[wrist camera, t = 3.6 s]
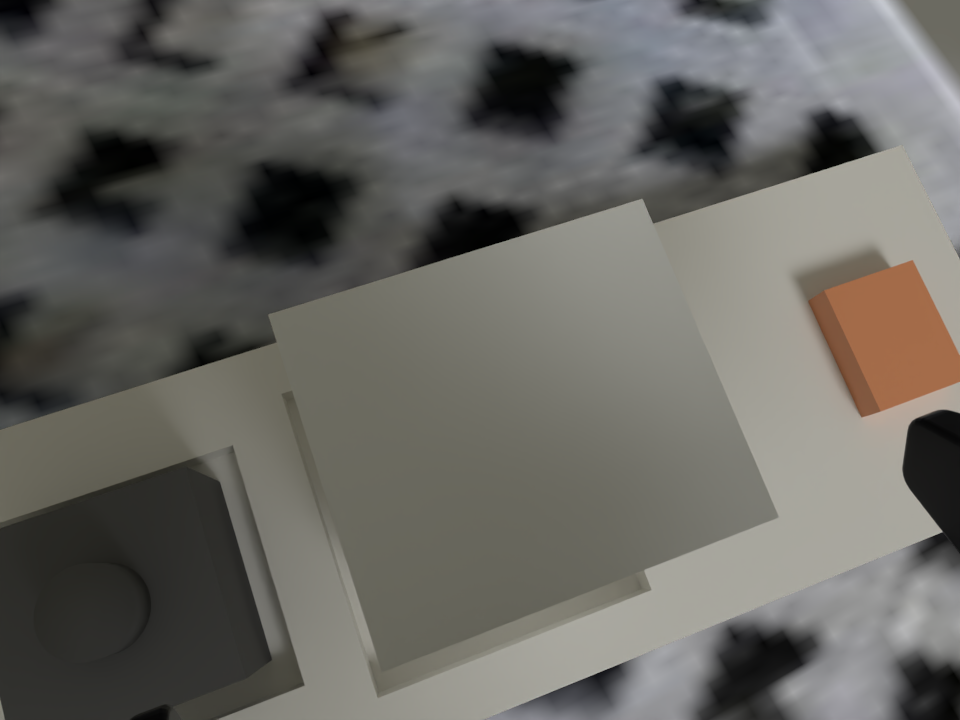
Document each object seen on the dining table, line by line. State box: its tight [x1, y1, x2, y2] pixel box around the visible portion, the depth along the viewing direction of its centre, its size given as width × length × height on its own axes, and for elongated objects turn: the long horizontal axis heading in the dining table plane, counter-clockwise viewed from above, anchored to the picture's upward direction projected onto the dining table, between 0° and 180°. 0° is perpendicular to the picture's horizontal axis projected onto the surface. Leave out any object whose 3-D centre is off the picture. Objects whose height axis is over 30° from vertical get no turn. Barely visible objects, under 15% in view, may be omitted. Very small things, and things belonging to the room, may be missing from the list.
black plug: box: [0, 466, 272, 720], centre depth 16 cm, size 4×4×4 cm
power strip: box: [0, 145, 960, 720], centre depth 19 cm, size 27×9×2 cm, turn 110°
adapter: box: [268, 199, 779, 672], centre depth 14 cm, size 4×5×10 cm
